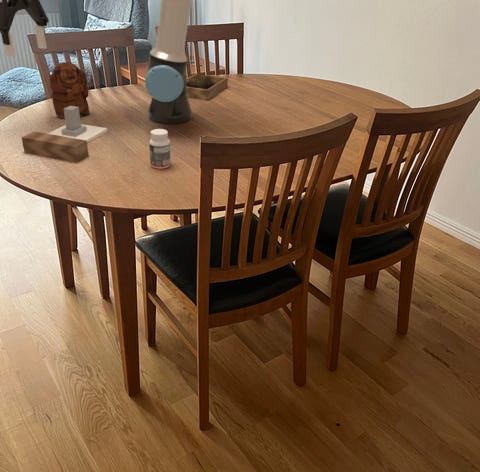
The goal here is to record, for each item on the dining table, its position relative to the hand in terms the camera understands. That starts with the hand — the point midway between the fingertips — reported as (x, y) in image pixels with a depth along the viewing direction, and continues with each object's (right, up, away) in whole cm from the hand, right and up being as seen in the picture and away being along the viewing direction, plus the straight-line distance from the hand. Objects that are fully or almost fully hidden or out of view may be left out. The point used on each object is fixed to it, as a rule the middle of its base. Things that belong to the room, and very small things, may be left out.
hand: (27, 52), depth 155 cm
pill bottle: (+42, -36, -11) cm, 57 cm away
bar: (+11, -33, -7) cm, 35 cm away
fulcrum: (+13, -24, +6) cm, 28 cm away
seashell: (+49, +4, +57) cm, 75 cm away
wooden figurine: (+7, -14, +23) cm, 28 cm away
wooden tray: (+49, +4, +56) cm, 74 cm away
